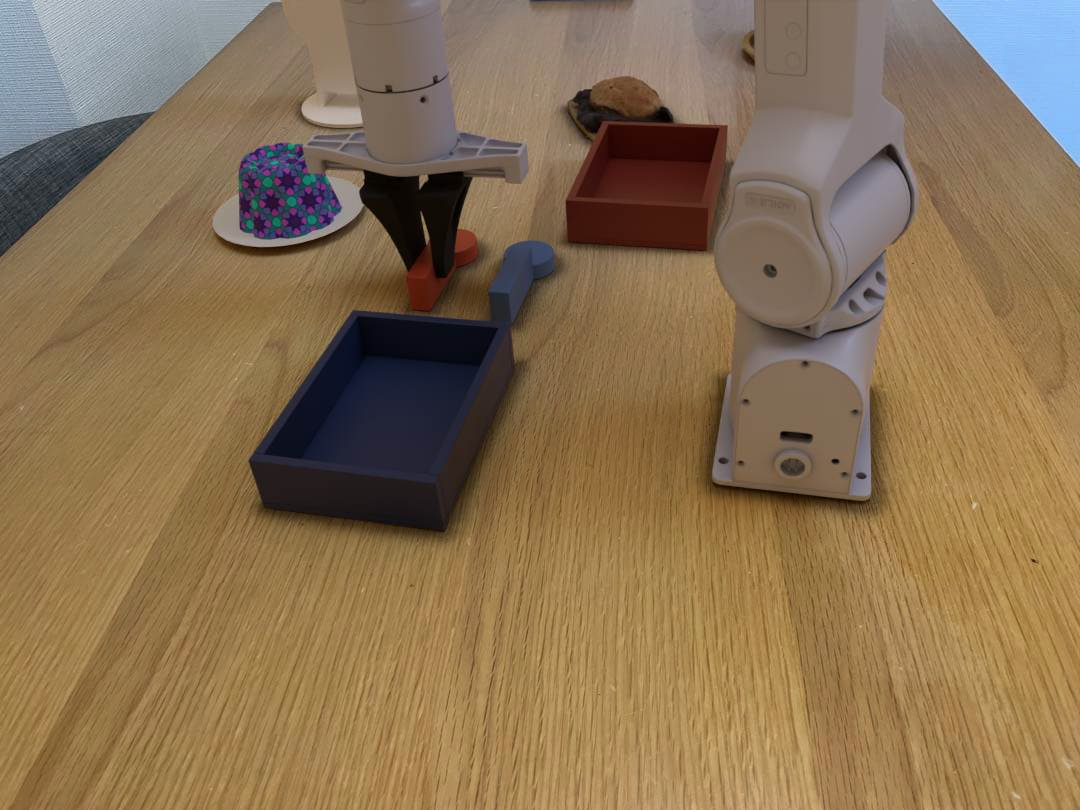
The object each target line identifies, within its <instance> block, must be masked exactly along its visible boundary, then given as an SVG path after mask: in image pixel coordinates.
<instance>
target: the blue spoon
mask: <svg viewBox="0 0 1080 810" xmlns="http://www.w3.org/2000/svg"><path fill="white" fill-rule="evenodd" d="M502 257H503V263H502V264H501V266H500V268H499V270H498V272H497V273H496V276H495V278H494V279H493V281H492V283H491V286H490V287H489V289H488V291H487V293H488V294H487V295H488V302H489V310H490V318H491V321H493V322H505V323H510V324H511V327H512V326H513V324H514V322H515V320H516V318H517V316H518V313H519V311H520V309H521V307H522V305H523V303H524V301H525V299H526V297H527V294H528V292H529V290H530V287H531V286H532V283H533V282H534V281H535V280H538V279H543V278H545V277H547V276H549V275H550V274H551V273H552V272H553V271H555V270H554V269H555V267H556V261H555V250H554V248H553V246H552V245H551V244H549V243H547V242H544V241H542V240H535V239H534V240H532V239H531V240H521V241H518V242H515V243H512V244H510V245H509V246H507V247H506V248H505V250H504V251H503V254H502Z"/></svg>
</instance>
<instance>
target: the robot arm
mask: <svg viewBox="0 0 1080 810" xmlns="http://www.w3.org/2000/svg"><path fill="white" fill-rule="evenodd" d="M340 4H341V9H342V14H343V19H344V24H345V30H346V35H347V41H348V46H349V51H350V57H351V62H352V67H353V73H354V78H355V84H356V89H357V95H358V100H359V105H360V111H361V116H362V122H363V127H362V128H363V130H361V131H352V132H343V133H327V134H325V133H314V134H313V135H312V136H311V137H310V138H309V139H308V140H307V141H306V142H305V143H304V144H303V147H302V148H303V152H304V156H305V161H306V165H307V170H308V173H309V174H323V173H325V174H326V172H327V171H342V172H343V171H344V172H363V176H364V178H363V184H362V186H361V187H360V190H359V195H360V198H361V201H362V203H363V204H364V205H363V206H365V207H366V208H367V209H368V210H369V211H370V212H371V213H372V215H373V216H374V217H375V218H376V219H377V221H378V222H379V223H380V224H381V226H382V227H383V228H384V230H385V232H386V233H387V235H388V236H389V238H390V239H391V241H392V242H393V244H394V246H395V248H396V250H397V253H398V254H399V256H400V258H401V260H402V261H403V264H404V266H405V269H406V271H407V273H408V272H409V271H410V269H411V268H412V266H413V265H414V263H415V262H416V260H417V259H418V257H419V256H420V254H421V253H422V251H423V250H424V248H425V246H426V245H427V241H426V233H425V230H424V224H425V228H426V231H427V234H428V240H429V239H430V245H431V254H432V262H433V266H434V270H435V273H436V277H437V278H447V276H448V275H449V273H450V271H451V270H452V268H453V266H454V264H455V245H456V236H457V230H458V229H459V225H460V220H461V216H462V211H463V209H464V205H465V202H466V198H467V196H468V193H469V189H470V187H471V184H472V182H473V180H474V178H487V179H489V178H490V179H504V180H505V181H504V182H505V183H506V184H512V185H521V184H523V182H524V180H525V178H526V177H527V174H528V173H529V170H530V168H529V167H530V166H529V155H528V154H529V153H528V143H527V142H525V141H511V140H505V139H499V138H495V137H490V136H485V135H481V134H476V133H471V132H467V131H463V130H458V129H457V124H456V117H455V108H454V101H453V93H452V85H451V84H452V83H451V76H450V70H449V63H448V62H449V61H448V54H447V46H446V38H445V30H444V22H443V14H442V6H441V0H340ZM887 10H888V0H753V30H754V43H755V61H754V94H755V95H754V98H755V99H754V104H755V107H754V108H755V110H754V114H753V116H752V118H751V122H750V124H749V127H748V129H747V132H746V134H745V137H744V139H743V141H742V143H741V146H740V148H739V150H738V152H737V155H736V156H735V157H736V158H735V160H734V162H733V165H732V168H731V170H730V173H729V180H728V181H729V202H728V207H727V211H726V214H725V217H724V219H723V220H722V222H721V224H720V226H719V227H718V230H717V232H716V234H715V239H714V243H713V262H714V268H715V272H716V275H717V277H718V280H719V281H720V284H721V286H722V287H723V290H724V291H725V292H726V294H727V295H728V297H729V298H730V299H731V300H732V302H733V303H734V304H735V305H734V306H735V307H734V310H735V314H734V315H735V317H734V331H733V333H734V334H733V344H732V345H733V346H732V361H731V372H730V373H728V374H727V377H726V383H725V384H726V385H725V390H724V396H723V402H722V408H721V414H720V421H719V427H718V433H717V440H716V444H715V445H716V446H715V452H714V458H713V463H712V471H711V481H712V482H713V483H715V484H716V485H719V486H728V487H735V488H736V487H737V488H746V489H755V490H764V491H771V492H780V493H781V492H782V493H789V494H799V495H806V496H815V497H824V498H832V499H842V500H850V501H857V502H858V501H859V502H865V501H867V500H869V499H870V498H871V495H872V457H871V456H872V455H871V453H872V452H871V448H872V447H871V407H870V405H871V402H870V400H871V399H870V389H871V383H872V378H873V372H874V367H875V361H876V355H877V350H878V344H879V339H880V333H881V328H882V323H883V322H882V321H883V316H884V312H885V311H884V310H885V305H886V304H885V303H886V300H887V295H888V275H887V269H886V263H885V261H886V255H887V248H888V247H890V246H892V245H894V244H896V243H897V242H898V240H900V239H901V238H902V237H903V236H904V235H905V234H906V233H907V232H908V230H909V229H910V227H911V226H912V225H913V222H914V220H915V218H916V215H917V211H918V208H919V201H920V200H919V199H920V196H919V186H918V182H917V178H916V176H915V173H914V170H913V169H912V166H911V164H910V162H909V160H908V156H907V153H906V149H905V122H906V118H905V115H904V113H902V111H901V110H899V108H898V107H896V106H895V105H893V104H892V103H891V102H890V101H889V100H887V99H886V98H885V97H884V95H883V76H884V64H885V63H884V60H885V42H886V28H887V27H886V25H887ZM420 176H427V180H426V181H424V182H423V184H422V185H421V187H420ZM422 218H423V219H422ZM423 220H424V224H423Z"/></svg>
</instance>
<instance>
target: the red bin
mask: <svg viewBox="0 0 1080 810" xmlns="http://www.w3.org/2000/svg"><path fill="white" fill-rule="evenodd" d="M728 129H729V125H727V124H702V123H701V124H700V123H676V122H674V123H646V122H616V121H603V122H602V124H601V126H600V129H599V131H598V133H597V135H596V137H595V139H594V141H592V143H591V145H590V147H589V150H588V152H587V153H586V156H585V158H584V160H583V163H582V165H581V167H580V169H579V171H578V173H577V175H576V177H575V180H574V181H573V183H572V185H571V188H570V190H569V192H568V194H567V196H566V198H565V217H566V218H565V219H566V234H567V235H566V236H567V242H568V243H582V244H583V243H585V244H597V245H599V244H600V245H615V246H629V247H630V246H631V247H646V248H647V247H648V248H660V249H661V248H664V249H677V250H678V249H681V250H693V251H694V250H696V251H708V245H709V241H710V238H711V237H710V236H711V233H712V228H713V223H714V219H715V215H716V209H717V206H718V200H719V196H720V192H721V187H722V182H723V179H724V174H725V169H726V166H727V147H728V132H729V131H728Z"/></svg>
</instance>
